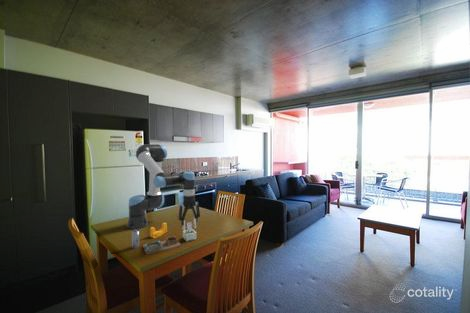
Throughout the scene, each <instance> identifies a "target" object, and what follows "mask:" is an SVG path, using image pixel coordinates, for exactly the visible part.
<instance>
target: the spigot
mask: <svg viewBox="0 0 470 313" xmlns="http://www.w3.org/2000/svg"><path fill="white" fill-rule="evenodd" d="M131 248H132V249H133V250H134V249H138V248H140V230H138V229H133V230H132V231H131Z"/></svg>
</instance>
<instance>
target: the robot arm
mask: <svg viewBox="0 0 470 313" xmlns="http://www.w3.org/2000/svg"><path fill="white" fill-rule="evenodd" d="M135 157H136V159H137V161H138V163H141V164H142V165H143V166H144V167H145V169H146V171H148V172H149V179H148V180H149V184H148V191H147V192H146V195H145V194H137V195H133V196H132V197H129V199H128V203H127V204H128V220H127V223H126V229H129V230H135V229H137V230H138V229H142V228H143V229H144V228H145V227H147V226H148V225H149V221H148V218H147V216H146V211H152V210H156V209H159V208H161V207H163V206H164V203H165V196H164V194H163V192H162V191H161V188H169V187H175V186H182V188H183V190H182V192H183V197H182V198H183V203H182V204H178V207H179V210H178V211H179V212H178V220H179V221H181V222H180V223H181V226H182V231H186V220H185V219H186V216H187V212H188V211H189V210H191V211H192V214H193V216H194V217H193V228H194V229H197V223H198V219H199V218H200V217H201V213H200V203H199V202H198V201H196V196H195V194H196V191H195V189H196V183H195V182H196V181H195V180H196V177H195V172H193V171H184V172H183V173H175V174H166V173H165V172H164V170H163V169H162V165H163V164H162V163H164V161H165V159H167V157H168V150H167V148H166V146H165V145H163V144H157V143H156V144H155V143H154V144H153V143H152V144H150V143H149V144H145V143H144V144H142V145H140V146H139V147H137V149H136V152H135ZM183 207H184V208H183Z"/></svg>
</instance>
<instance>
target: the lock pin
mask: <svg viewBox="0 0 470 313" xmlns="http://www.w3.org/2000/svg"><path fill="white" fill-rule="evenodd" d="M192 229H193V222H192V221H188V222H187V223H186V230H187V234H190V233H192Z"/></svg>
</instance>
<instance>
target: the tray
mask: <svg viewBox="0 0 470 313" xmlns="http://www.w3.org/2000/svg"><path fill="white" fill-rule="evenodd" d="M182 238H183V240H184V241H185V242H186V243H187V242H190V241H191V242H192V241H195V240H197V231H195V229H193V228H192V233H190V234H187V229H185V231H184V230H182Z"/></svg>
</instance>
